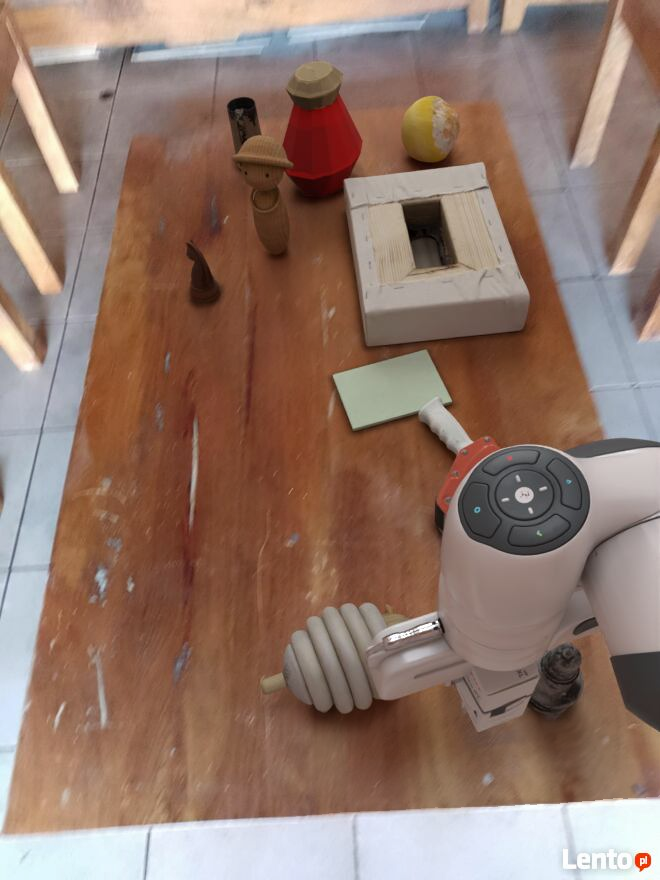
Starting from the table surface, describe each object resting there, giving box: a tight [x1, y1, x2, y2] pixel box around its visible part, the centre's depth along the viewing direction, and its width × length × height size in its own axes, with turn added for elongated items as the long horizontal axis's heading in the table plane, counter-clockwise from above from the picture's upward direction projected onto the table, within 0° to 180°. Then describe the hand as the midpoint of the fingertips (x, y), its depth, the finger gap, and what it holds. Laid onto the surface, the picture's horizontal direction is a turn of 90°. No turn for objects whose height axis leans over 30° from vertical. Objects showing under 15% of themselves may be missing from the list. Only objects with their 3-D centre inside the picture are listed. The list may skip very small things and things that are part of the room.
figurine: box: [230, 134, 293, 255], centre depth 109 cm, size 9×7×20 cm
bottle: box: [281, 60, 364, 199], centre depth 119 cm, size 16×14×20 cm
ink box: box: [454, 662, 540, 733], centre depth 63 cm, size 8×5×12 cm, turn 20°
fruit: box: [400, 95, 461, 163], centre depth 125 cm, size 10×11×10 cm
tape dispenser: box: [417, 397, 502, 535], centre depth 88 cm, size 18×5×20 cm
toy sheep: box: [259, 602, 412, 714], centre depth 72 cm, size 11×17×11 cm, turn 115°
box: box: [343, 161, 531, 347], centre depth 109 cm, size 23×8×32 cm
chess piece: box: [184, 239, 221, 305], centre depth 109 cm, size 5×5×10 cm
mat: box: [331, 348, 453, 432], centre depth 99 cm, size 14×10×1 cm
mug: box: [226, 96, 263, 170], centre depth 127 cm, size 8×6×12 cm
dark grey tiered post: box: [527, 642, 584, 716], centre depth 70 cm, size 6×6×12 cm
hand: (483, 665), depth 64 cm, fingers closed on ink box, 5 cm apart
